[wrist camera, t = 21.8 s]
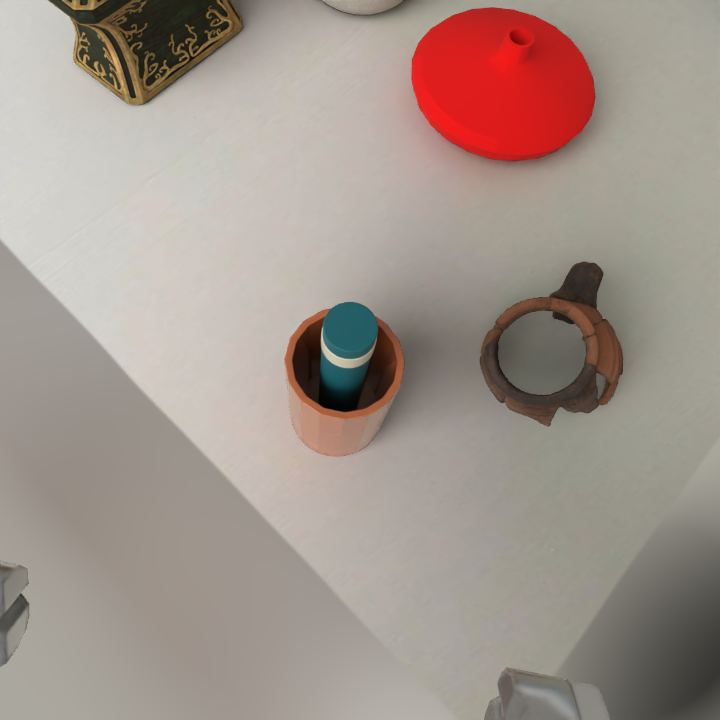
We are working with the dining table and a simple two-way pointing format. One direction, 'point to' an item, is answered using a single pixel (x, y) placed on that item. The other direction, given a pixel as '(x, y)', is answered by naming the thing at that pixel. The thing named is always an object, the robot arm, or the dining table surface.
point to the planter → (362, 5)
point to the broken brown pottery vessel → (601, 342)
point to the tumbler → (333, 427)
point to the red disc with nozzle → (502, 84)
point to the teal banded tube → (345, 355)
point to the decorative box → (146, 40)
